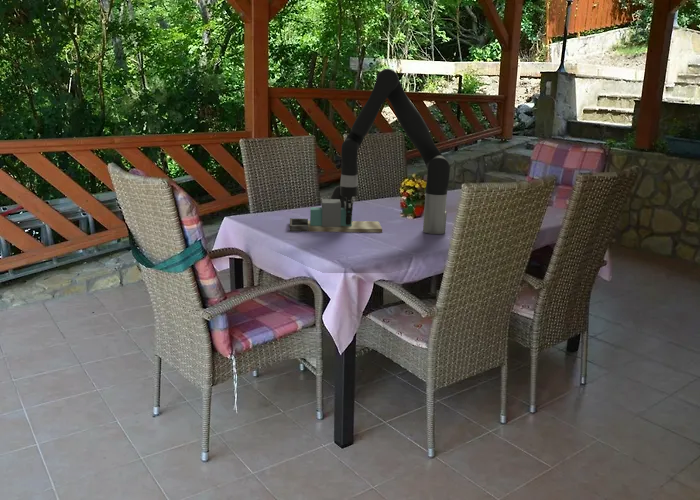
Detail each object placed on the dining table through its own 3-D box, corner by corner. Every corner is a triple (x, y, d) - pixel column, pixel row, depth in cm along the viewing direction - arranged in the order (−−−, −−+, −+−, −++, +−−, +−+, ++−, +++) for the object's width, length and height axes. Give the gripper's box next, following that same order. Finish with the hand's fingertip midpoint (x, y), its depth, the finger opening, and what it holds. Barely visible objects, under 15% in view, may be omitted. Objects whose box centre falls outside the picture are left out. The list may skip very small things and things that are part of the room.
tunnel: (339, 222, 282) (339, 199, 279) (340, 227, 274) (341, 203, 271) (321, 222, 282) (321, 199, 279) (322, 226, 274) (322, 203, 271)
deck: (378, 224, 287) (378, 219, 286) (382, 232, 274) (382, 227, 273) (289, 223, 283) (289, 218, 283) (289, 231, 270) (289, 225, 269)
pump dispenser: (353, 219, 295) (354, 187, 291) (332, 220, 291) (333, 188, 287) (345, 214, 304) (346, 183, 300) (325, 216, 301) (325, 184, 296)
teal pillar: (350, 223, 281) (351, 208, 279) (351, 226, 276) (352, 210, 274) (310, 222, 280) (310, 207, 278) (310, 225, 275) (310, 209, 273)
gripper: (359, 188, 267) (357, 227, 272) (356, 182, 281) (354, 219, 286) (341, 187, 266) (340, 226, 271) (339, 181, 280) (338, 219, 285)
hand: (347, 222), depth 278 cm, fingers closed on teal pillar, 5 cm apart
